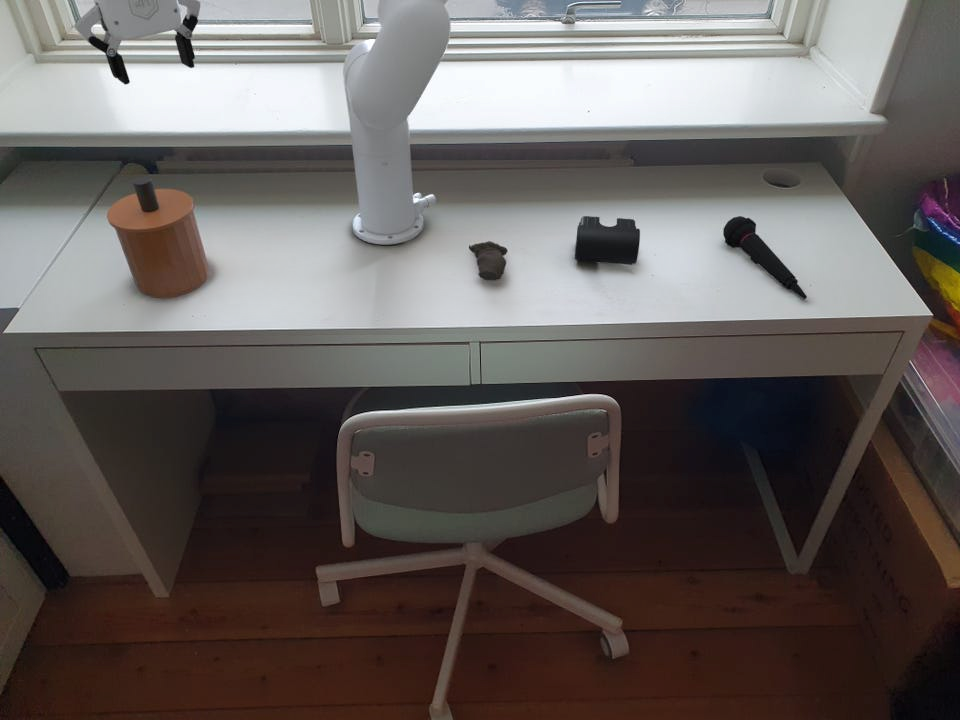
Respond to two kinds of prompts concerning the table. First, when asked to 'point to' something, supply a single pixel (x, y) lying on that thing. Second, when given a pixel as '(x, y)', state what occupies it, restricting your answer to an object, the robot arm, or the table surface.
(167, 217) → the lid
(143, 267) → the canister
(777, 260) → the microphone
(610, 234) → the end cap
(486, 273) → the figurine
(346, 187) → the table surface
